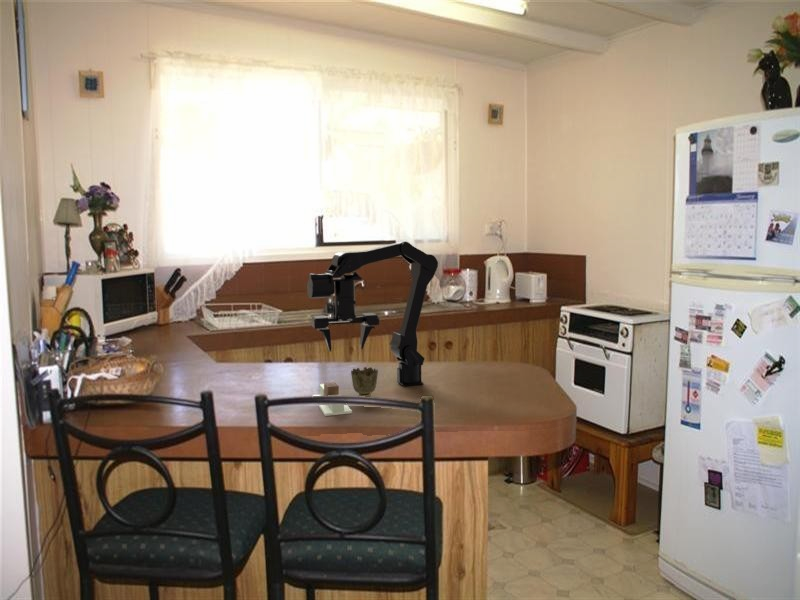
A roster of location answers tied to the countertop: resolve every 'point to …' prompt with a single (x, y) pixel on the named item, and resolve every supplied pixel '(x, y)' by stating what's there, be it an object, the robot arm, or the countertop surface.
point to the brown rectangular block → (331, 389)
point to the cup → (364, 381)
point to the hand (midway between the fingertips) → (345, 350)
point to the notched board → (326, 410)
